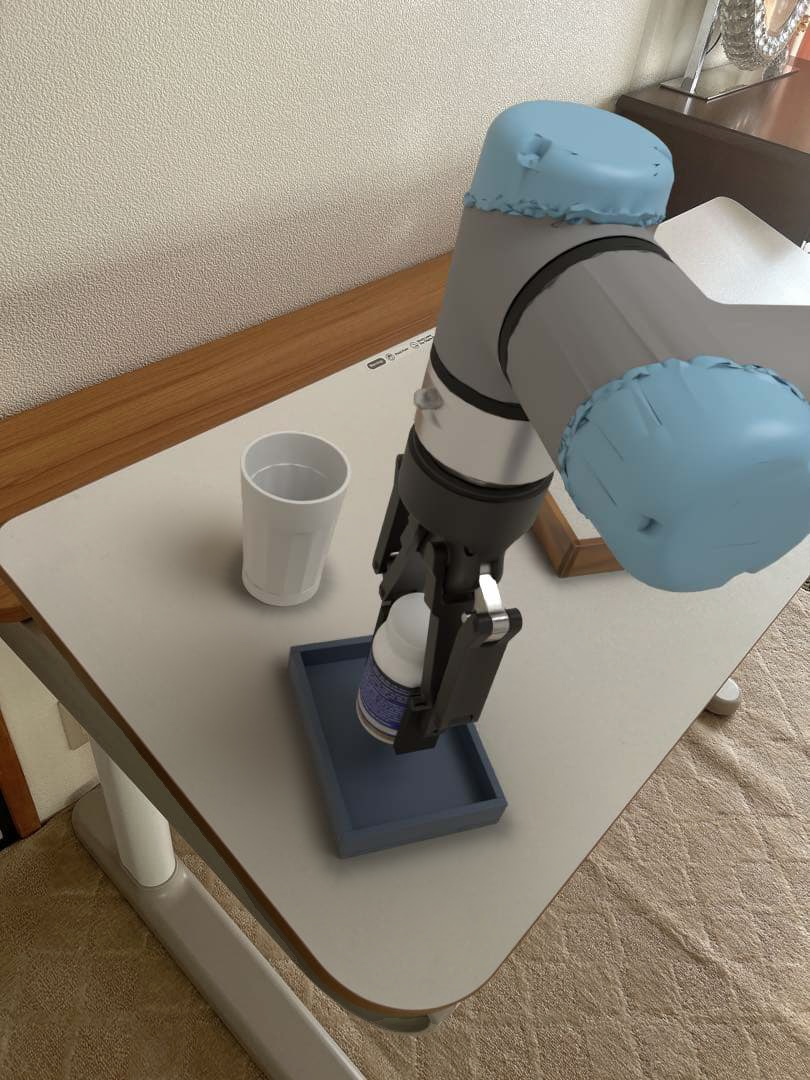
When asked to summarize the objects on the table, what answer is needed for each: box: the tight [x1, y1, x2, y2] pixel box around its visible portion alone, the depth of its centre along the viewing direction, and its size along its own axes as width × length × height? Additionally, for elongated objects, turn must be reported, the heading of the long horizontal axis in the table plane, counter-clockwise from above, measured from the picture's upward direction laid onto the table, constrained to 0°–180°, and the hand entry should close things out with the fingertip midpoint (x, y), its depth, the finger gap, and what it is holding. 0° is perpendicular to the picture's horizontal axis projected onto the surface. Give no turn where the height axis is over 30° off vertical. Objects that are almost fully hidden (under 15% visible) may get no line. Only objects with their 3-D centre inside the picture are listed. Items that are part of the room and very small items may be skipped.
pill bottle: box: [356, 593, 430, 744], centre depth 57 cm, size 6×6×10 cm
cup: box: [239, 429, 352, 607], centre depth 68 cm, size 8×8×12 cm
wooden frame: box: [531, 489, 625, 578], centre depth 85 cm, size 18×14×4 cm
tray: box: [286, 634, 509, 860], centre depth 62 cm, size 15×11×3 cm
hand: (398, 705), depth 60 cm, fingers closed on pill bottle, 6 cm apart
